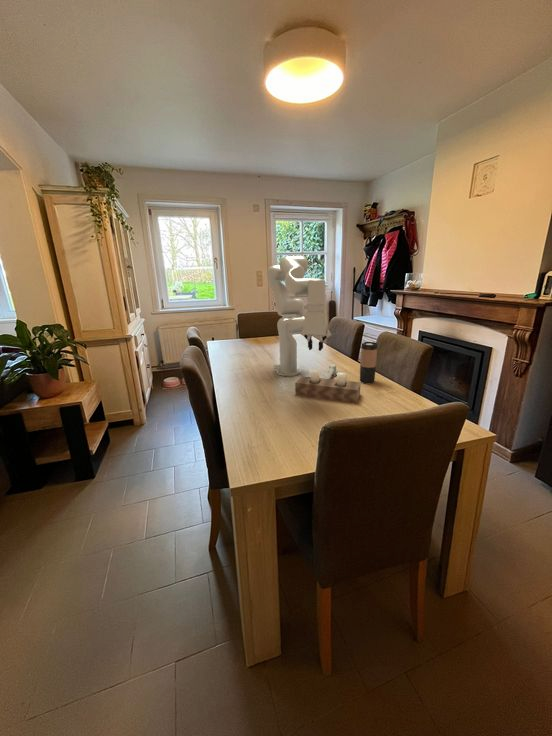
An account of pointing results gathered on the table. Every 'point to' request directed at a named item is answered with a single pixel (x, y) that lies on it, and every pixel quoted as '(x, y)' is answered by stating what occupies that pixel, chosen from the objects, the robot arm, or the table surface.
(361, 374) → the travel mug
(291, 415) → the table surface
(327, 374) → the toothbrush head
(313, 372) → the peg
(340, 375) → the peg
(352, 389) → the walnut block
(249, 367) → the table surface
